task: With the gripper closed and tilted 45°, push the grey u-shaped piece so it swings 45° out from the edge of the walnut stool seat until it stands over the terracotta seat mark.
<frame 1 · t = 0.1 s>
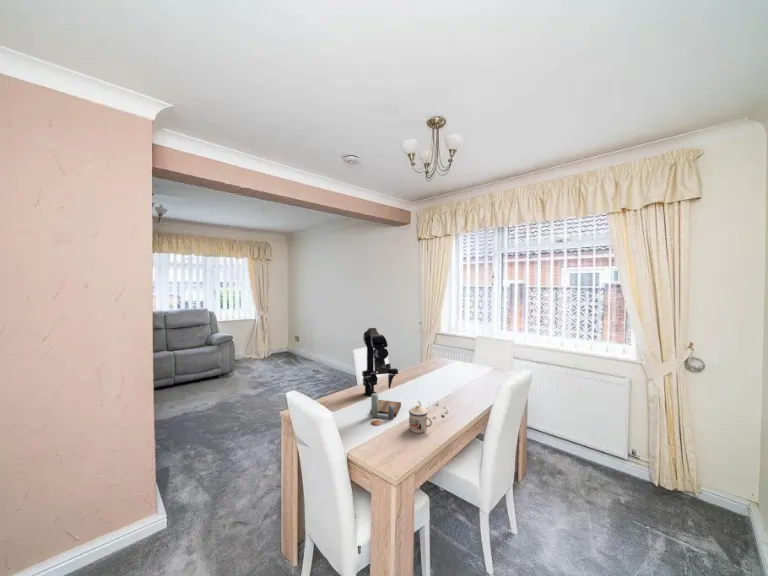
hand: (380, 389, 155), 15 cm above the table, tool pointing down, fingers open, 9 cm apart
teacup with lid: (420, 430, 144), on the table
grey u-shaped piece: (382, 406, 156), point 6 cm above the table, hinge at 0.0°
stool seat: (391, 418, 155), on the table
game piece set: (431, 411, 165), on the table
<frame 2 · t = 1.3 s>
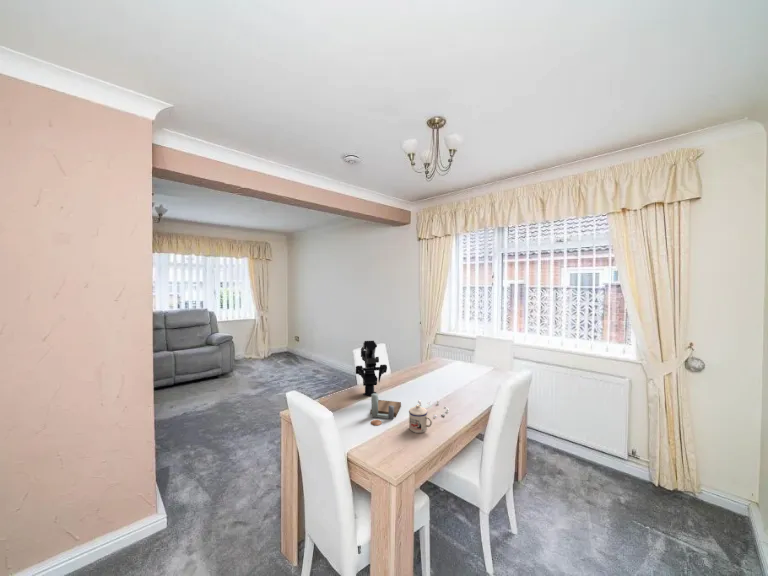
hand: (372, 382, 172), 13 cm above the table, tool tilted 45°, fingers open, 8 cm apart
nothing on the table moved.
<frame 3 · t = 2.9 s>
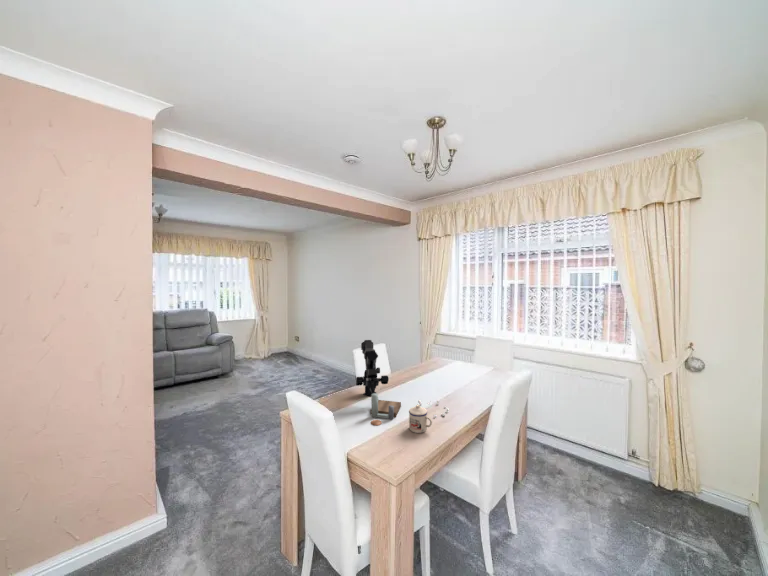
hand: (373, 394, 166), 9 cm above the table, tool tilted 45°, fingers closed
nothing on the table moved.
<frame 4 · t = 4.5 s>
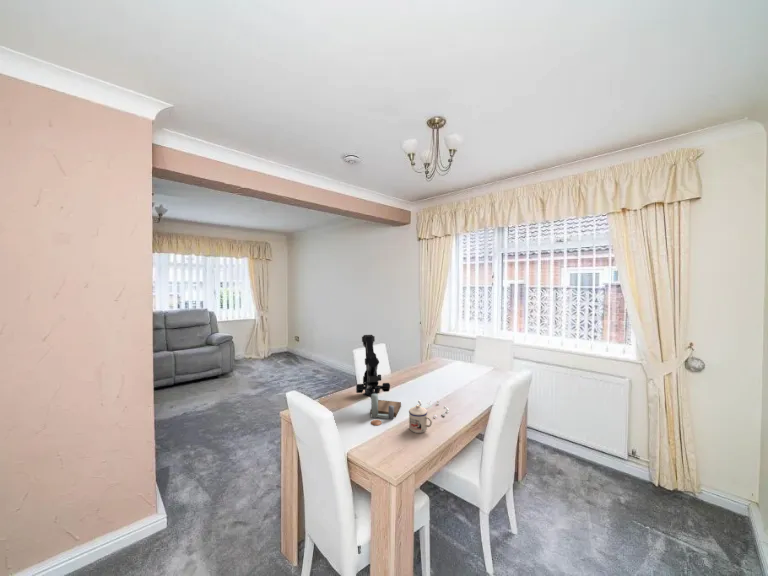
hand: (374, 402, 159), 7 cm above the table, tool tilted 45°, fingers closed, pressing on grey u-shaped piece
grey u-shaped piece: (382, 406, 156), point 6 cm above the table, hinge at 1.7°, touching gripper
everything else where it was.
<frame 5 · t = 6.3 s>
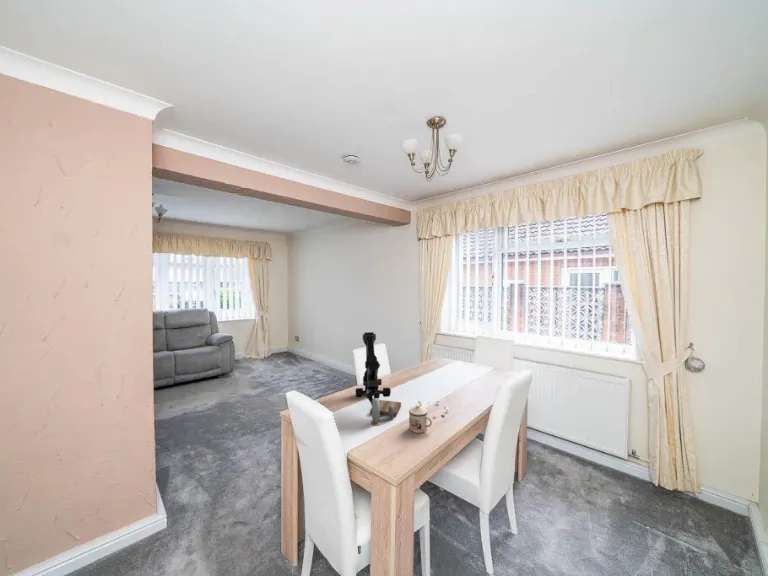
hand: (373, 408, 153), 7 cm above the table, tool tilted 45°, fingers closed, pressing on grey u-shaped piece
grey u-shaped piece: (383, 408, 153), point 6 cm above the table, hinge at 42.8°, touching gripper
everything else where it was.
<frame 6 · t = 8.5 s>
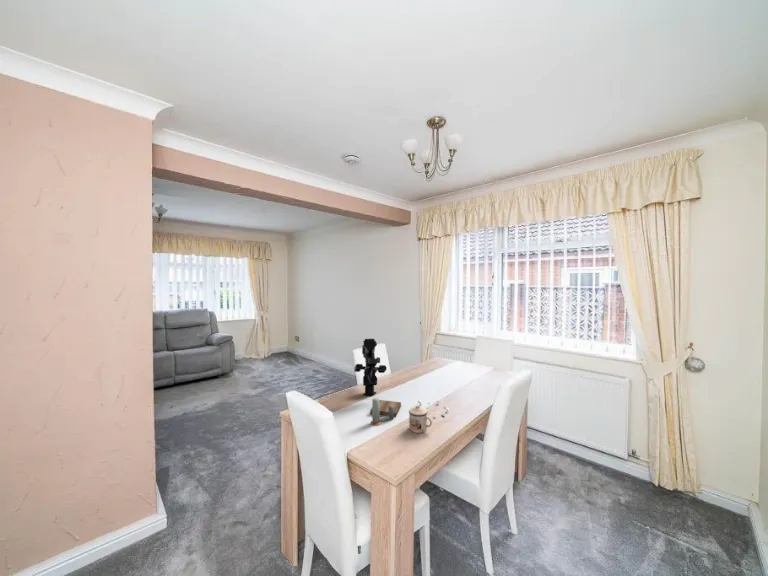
hand: (370, 382, 172), 13 cm above the table, tool tilted 40°, fingers closed
grey u-shaped piece: (383, 408, 153), point 6 cm above the table, hinge at 42.9°
everything else where it was.
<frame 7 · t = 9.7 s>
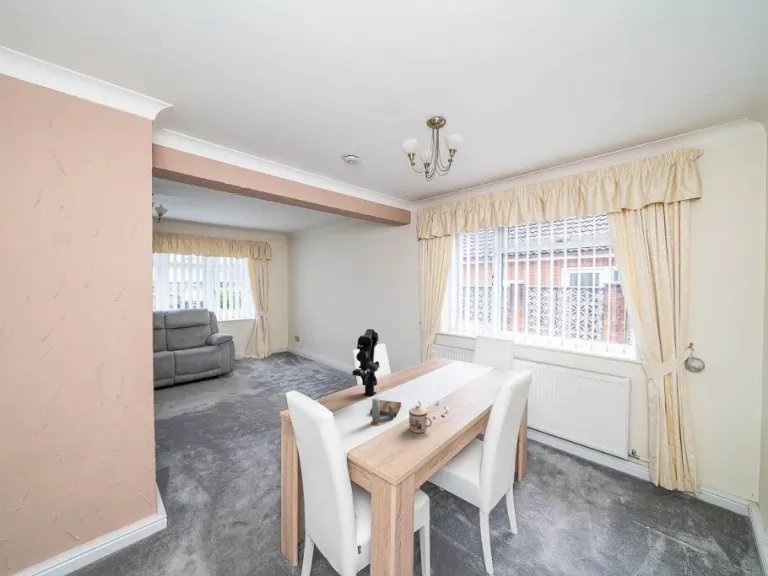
hand: (365, 383, 174), 12 cm above the table, tool pointing down, fingers closed
nothing on the table moved.
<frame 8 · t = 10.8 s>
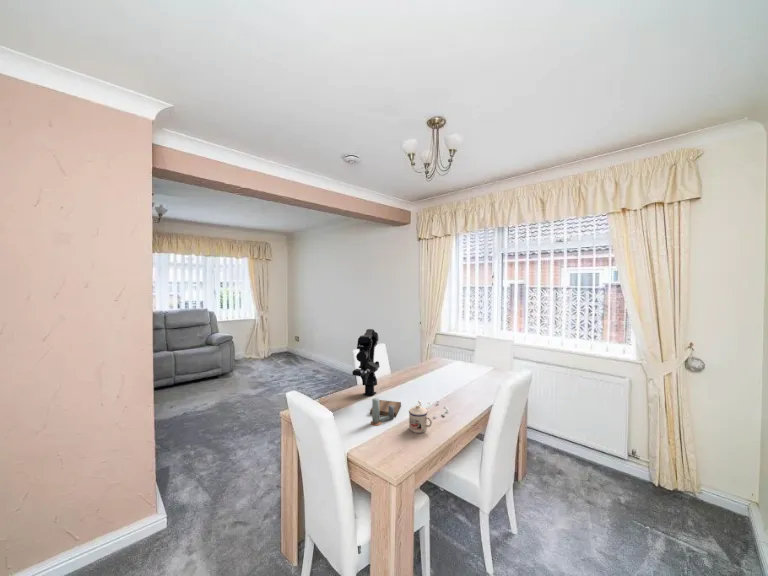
hand: (365, 383, 174), 12 cm above the table, tool pointing down, fingers closed
nothing on the table moved.
at the end: grey u-shaped piece at +43° (first picture: +0°); teacup with lid moved 0.2 cm from its start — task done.
